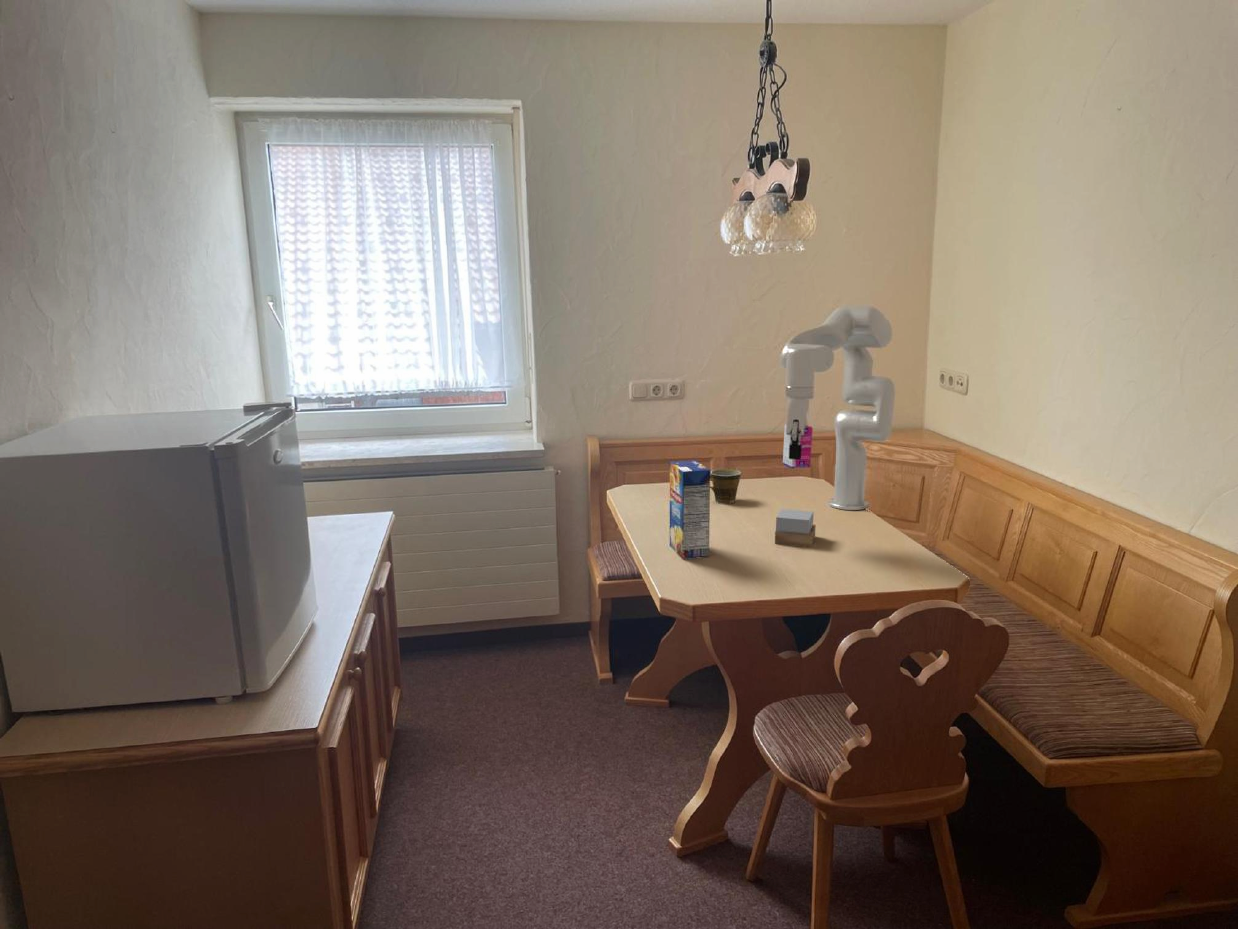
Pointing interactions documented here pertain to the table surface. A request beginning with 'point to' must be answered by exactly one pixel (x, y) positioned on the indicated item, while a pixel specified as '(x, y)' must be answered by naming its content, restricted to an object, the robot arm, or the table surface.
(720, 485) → the ceramic cup
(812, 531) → the tower base slab
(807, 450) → the supplement box
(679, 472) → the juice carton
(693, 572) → the table surface
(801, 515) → the tower top slab
